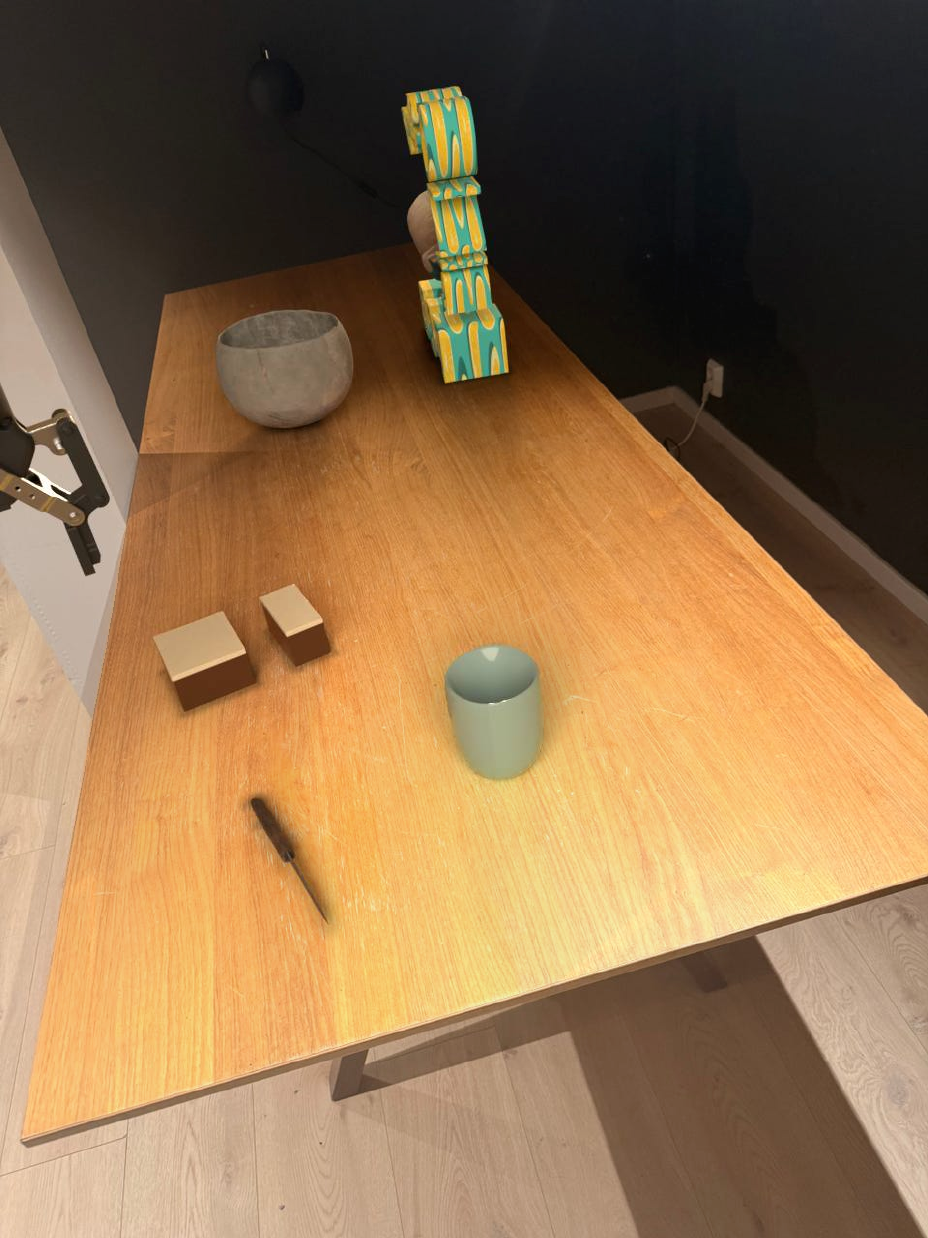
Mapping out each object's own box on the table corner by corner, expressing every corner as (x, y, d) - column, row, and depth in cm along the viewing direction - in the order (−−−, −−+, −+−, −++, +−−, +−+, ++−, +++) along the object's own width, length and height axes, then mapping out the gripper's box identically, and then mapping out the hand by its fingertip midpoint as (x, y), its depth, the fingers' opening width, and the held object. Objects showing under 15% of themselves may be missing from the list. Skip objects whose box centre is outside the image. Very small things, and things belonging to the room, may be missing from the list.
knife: (337, 929, 72) (332, 912, 70) (324, 936, 71) (319, 919, 70) (260, 799, 84) (254, 783, 82) (248, 805, 83) (242, 789, 82)
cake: (184, 712, 94) (171, 677, 92) (165, 670, 100) (152, 636, 98) (256, 683, 97) (244, 648, 94) (233, 644, 103) (222, 610, 100)
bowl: (356, 441, 141) (336, 342, 132) (221, 455, 142) (193, 359, 133) (368, 386, 157) (351, 296, 149) (247, 400, 159) (223, 311, 150)
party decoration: (509, 373, 155) (484, 97, 131) (439, 385, 154) (401, 110, 131) (478, 314, 180) (452, 74, 157) (418, 324, 179) (383, 84, 156)
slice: (295, 667, 98) (285, 632, 95) (269, 630, 104) (259, 596, 101) (330, 652, 99) (322, 617, 97) (302, 616, 105) (293, 583, 103)
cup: (498, 808, 79) (486, 719, 73) (441, 761, 84) (425, 675, 79) (565, 759, 83) (558, 671, 77) (506, 718, 88) (496, 632, 82)
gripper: (31, 301, 57) (120, 532, 66) (-233, 366, 52) (-97, 605, 62) (49, 332, 51) (143, 580, 61) (-245, 408, 47) (-94, 664, 56)
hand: (22, 592), depth 61 cm, fingers open, 8 cm apart
